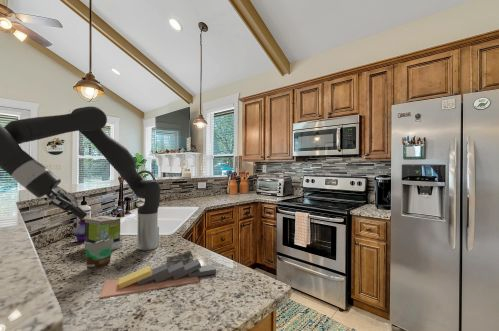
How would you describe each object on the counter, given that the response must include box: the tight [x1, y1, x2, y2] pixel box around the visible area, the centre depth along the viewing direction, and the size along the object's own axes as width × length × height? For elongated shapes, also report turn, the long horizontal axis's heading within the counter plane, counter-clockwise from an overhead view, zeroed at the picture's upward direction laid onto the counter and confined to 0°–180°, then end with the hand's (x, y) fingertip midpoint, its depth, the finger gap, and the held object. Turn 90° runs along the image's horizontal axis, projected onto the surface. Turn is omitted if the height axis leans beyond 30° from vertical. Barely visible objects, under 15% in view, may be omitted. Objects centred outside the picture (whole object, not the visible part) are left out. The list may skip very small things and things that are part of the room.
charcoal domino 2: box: [155, 262, 185, 283], centre depth 90 cm, size 2×5×10 cm
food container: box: [83, 236, 114, 270], centre depth 103 cm, size 12×6×10 cm, turn 168°
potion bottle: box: [73, 217, 86, 243], centre depth 135 cm, size 9×9×12 cm
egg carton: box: [165, 250, 195, 267], centre depth 105 cm, size 11×8×4 cm
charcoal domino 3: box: [173, 258, 202, 280], centre depth 92 cm, size 2×5×10 cm
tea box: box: [84, 215, 121, 251], centre depth 124 cm, size 15×10×15 cm, turn 58°
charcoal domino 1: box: [137, 263, 169, 286], centre depth 87 cm, size 2×5×10 cm
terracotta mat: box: [99, 275, 200, 299], centre depth 87 cm, size 30×12×1 cm, turn 113°
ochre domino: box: [118, 265, 152, 289], centre depth 85 cm, size 2×5×10 cm
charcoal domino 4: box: [187, 264, 217, 278], centre depth 94 cm, size 2×5×10 cm
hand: (84, 216), depth 80 cm, fingers closed
